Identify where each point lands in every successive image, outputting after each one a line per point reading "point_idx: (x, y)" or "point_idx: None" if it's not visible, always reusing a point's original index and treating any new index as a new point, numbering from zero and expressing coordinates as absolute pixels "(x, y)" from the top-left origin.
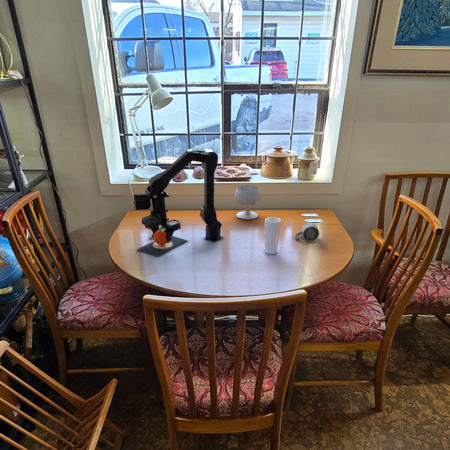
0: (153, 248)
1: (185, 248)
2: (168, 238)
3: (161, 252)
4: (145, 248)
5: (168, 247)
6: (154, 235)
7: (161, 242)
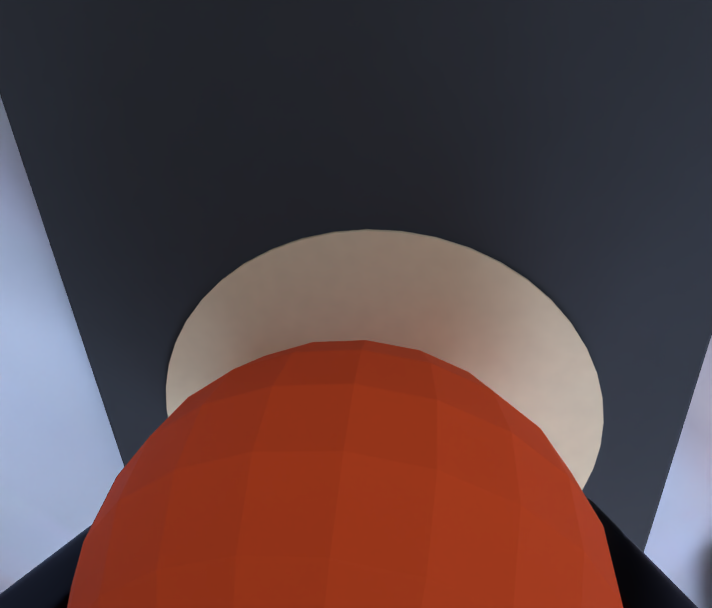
0: (399, 169)
1: (12, 509)
2: (10, 601)
3: (47, 117)
4: (620, 14)
5: (168, 394)
6: (481, 566)
7: (192, 395)
